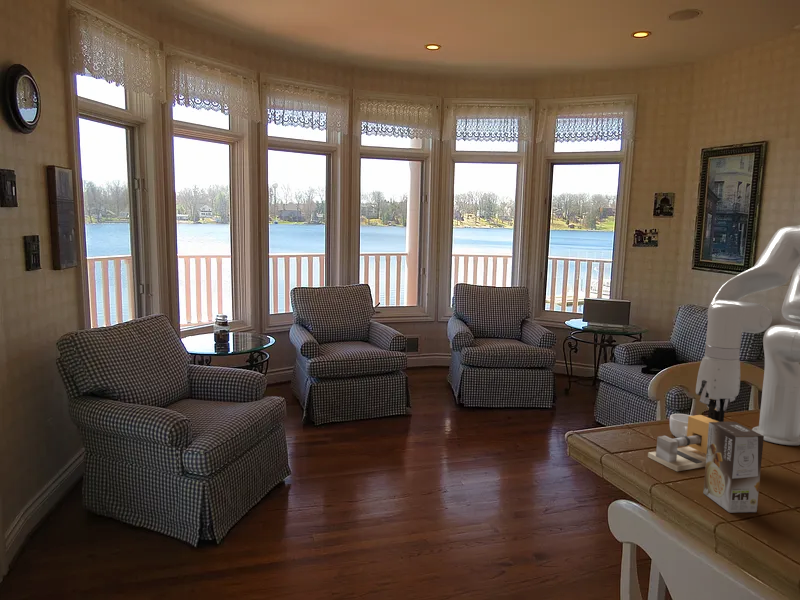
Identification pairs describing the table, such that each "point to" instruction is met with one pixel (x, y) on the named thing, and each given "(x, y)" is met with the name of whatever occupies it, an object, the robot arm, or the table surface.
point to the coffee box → (733, 466)
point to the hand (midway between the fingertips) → (715, 424)
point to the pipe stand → (679, 453)
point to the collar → (699, 430)
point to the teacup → (679, 425)
